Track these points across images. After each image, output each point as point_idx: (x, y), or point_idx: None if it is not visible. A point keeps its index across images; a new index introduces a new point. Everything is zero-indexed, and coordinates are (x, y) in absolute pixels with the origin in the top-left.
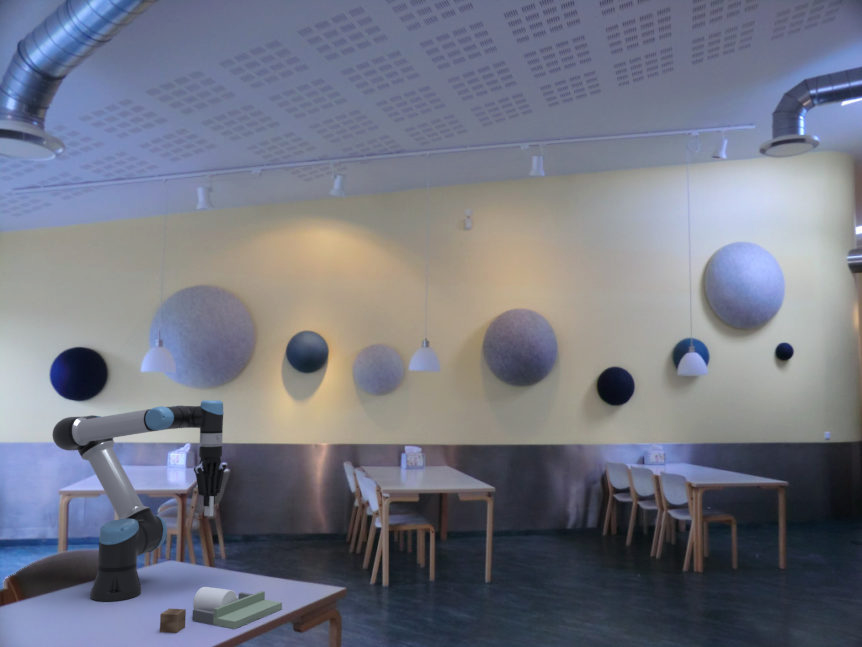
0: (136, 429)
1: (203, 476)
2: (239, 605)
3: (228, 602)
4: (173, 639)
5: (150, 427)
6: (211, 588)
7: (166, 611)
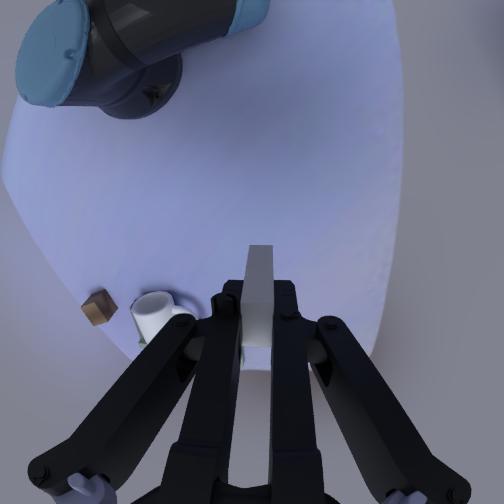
0: None
1: (133, 461)
2: None
3: None
4: None
5: None
6: (149, 331)
7: (88, 307)
